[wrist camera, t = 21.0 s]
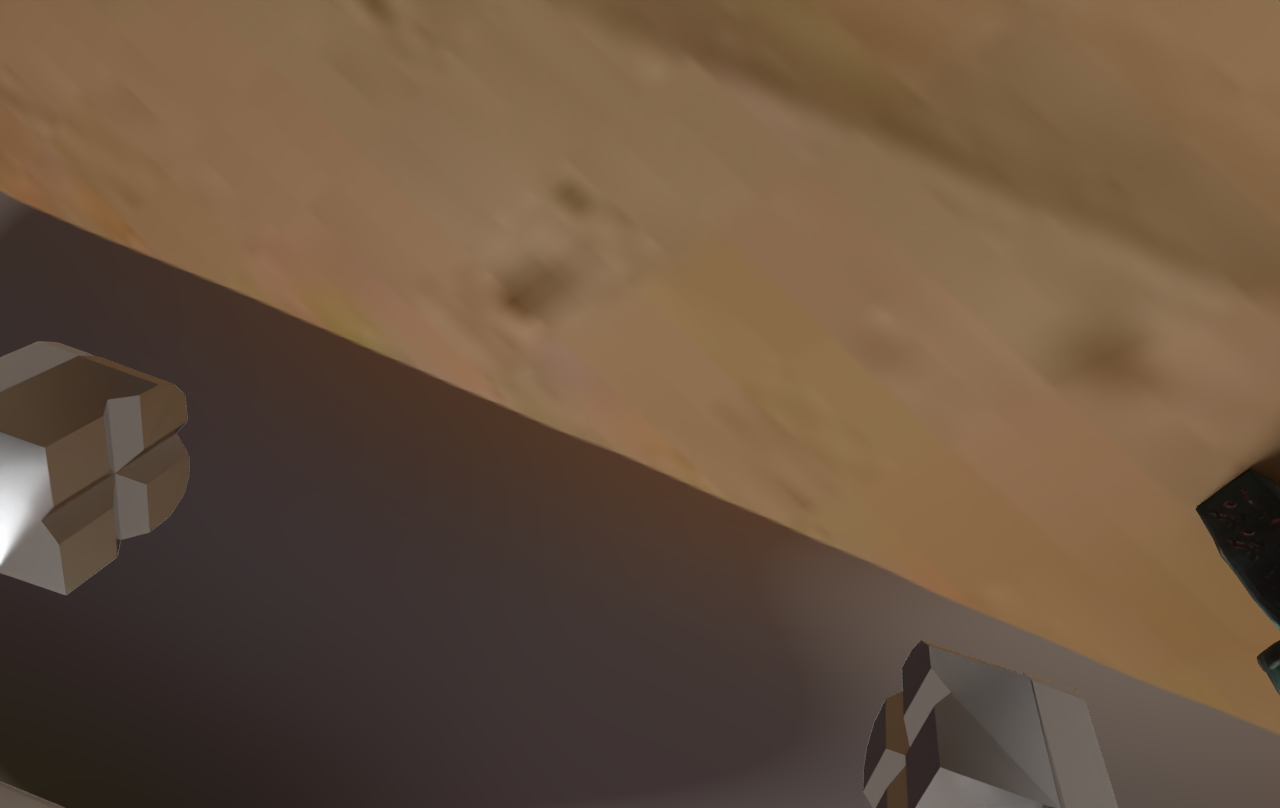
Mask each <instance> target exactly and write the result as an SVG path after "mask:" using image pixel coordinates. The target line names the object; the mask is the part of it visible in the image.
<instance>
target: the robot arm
mask: <svg viewBox="0 0 1280 808" xmlns="http://www.w3.org/2000/svg"><path fill="white" fill-rule="evenodd" d="M187 421H188V419H187V408H186V398H185V394H184V393H183V392H182V391H181V390H179V389H178V388H177V387H176V386H175V385H174V384H172V383H169V382H166V381H163V380H160V379H158V378H155V377H153V376H150V375H147V374H144V373H142V372H139V371H136V370H133V369H131V368H128V367H125V366H123V365H120V364H117V363H114V362H112V361H109V360H106V359H103V358H101V357H98V356H92V355H90V354H88V353H86V352H83V351H80V350H77V349H75V348H72V347H69V346H66V345H63V344H60V343H58V342H42V341H38V342H36V343H33V344H31V345H28V346H26V347H24V348H21V349H19V350H17V351H14V352H12V353H9V354H7V355H5V356H2V357H0V573H2V574H5V575H8V576H11V577H14V578H17V579H20V580H23V581H25V582H28V583H31V584H34V585H37V586H40V587H43V588H46V589H49V590H52V591H55V592H58V593H60V594H63V595H67V594H69V593H70V592H71V591H73V590H74V589H75V588H76V587H78V586H79V585H81V584H82V583H83V582H85V581H86V580H87V579H89V578H90V577H91V576H93V575H94V574H95V573H96V572H98V571H99V570H101V568H103V567H105V566H106V565H107V564H109V563H110V562H111V561H112V560H114V559H115V558H116V557H118V552H119V546H120V542H121V540H122V539H126V538H130V537H133V536H137V535H141V534H145V533H149V532H151V531H152V530H153V529H154V528H156V527H157V526H158V525H159V524H161V523H162V522H163V521H164V520H166V519H167V518H168V517H169V516H170V515H171V513H172V512H173V510H174V509H175V507H176V506H177V504H178V503H179V501H180V500H181V498H182V497H183V495H184V494H185V490H186V486H187V482H188V478H189V474H190V471H189V470H190V469H189V454H188V452H187V451H186V449H185V447H184V446H183V444H182V442H181V441H180V439H179V438H178V436H177V434H176V433H177V432H178V431H179V430H180V429H181V427H182V426H183V425H184V424H185V423H186V422H187ZM902 686H903V691H902V692H900V693H898V694H896V695H893V696H891V697H889V698H886V699H885V701H884V703H883V705H882V707H881V710H880V711H879V714H878V716H877V718H876V720H875V722H874V725H873V728H872V732H871V735H870V738H869V742H868V745H867V749H866V756H865V763H864V775H863V792H864V794H865V796H866V797H867V799H868V800H869V802H870V804H871V805H872V807H873V808H1118V805H1117V802H1116V799H1115V796H1114V792H1113V789H1112V786H1111V783H1110V780H1109V776H1108V773H1107V770H1106V767H1105V763H1104V760H1103V757H1102V754H1101V750H1100V747H1099V744H1098V741H1097V738H1096V734H1095V731H1094V728H1093V725H1092V721H1091V718H1090V715H1089V712H1088V708H1087V705H1086V702H1085V699H1084V698H1083V696H1082V695H1081V694H1080V693H1079V692H1078V691H1077V690H1076V689H1073V688H1071V687H1067V686H1064V685H1061V684H1058V683H1055V682H1052V681H1048V680H1045V679H1042V678H1039V677H1036V676H1032V675H1029V674H1026V673H1022V674H1020V673H1017V672H1015V671H1012V670H1009V669H1006V668H1002V667H1000V666H997V665H994V664H991V663H987V662H985V661H982V660H979V659H976V658H973V657H970V656H967V655H964V654H961V653H958V652H955V651H952V650H949V649H946V648H943V647H940V646H937V645H934V644H931V643H928V642H925V641H922V640H920V641H919V643H918V644H917V645H916V646H915V647H914V648H913V649H912V650H911V652H910V654H909V656H908V658H907V660H906V661H905V663H904V665H903V667H902ZM0 808H64V807H62V806H59V805H57V804H54V803H52V802H50V801H47V800H45V799H42V798H40V797H37V796H35V795H32V794H30V793H27V792H25V791H23V790H20V789H18V788H15V787H13V786H10V785H8V784H5V783H3V782H0Z"/></svg>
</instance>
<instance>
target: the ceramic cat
mask: <svg viewBox="0 0 1280 808" xmlns="http://www.w3.org/2000/svg"><path fill="white" fill-rule="evenodd" d="M1196 511H1197V512H1198V514H1199V515H1200V517H1201V519H1202V521H1203V522H1204V524H1205V526H1206V528H1207V529H1208V531H1209V533H1210V535H1211V536H1212V538H1213V540H1214V542H1215V544H1216V546H1217V549H1218V551H1219V553H1220V555H1221V557H1222V559H1223V560H1224V561H1225V562H1226V563H1227V564H1228V565H1229V567H1230V568H1231V569H1232V571H1233V572H1234V573H1235V575H1236V576H1237V577H1238V578H1239V580H1240V581H1241V582H1242V584H1243V585H1244V587H1245V588H1246V590H1247V591H1248V592H1249V594H1250V595H1251V597H1252V598H1253V600H1254V601H1255V602H1256V603H1257V604H1258V606H1259V607H1260V608H1261V609H1262V610H1263V611H1264V612H1265V614H1266V615H1267V616H1268V617H1269V618H1270V619H1271V620H1272V622H1273V623H1274V624H1275V625H1276V626H1277V627H1278V628H1279V630H1280V487H1279V486H1278V485H1277V484H1276V483H1275V482H1273V481H1272V480H1270V479H1268V478H1267V477H1265V476H1263V475H1261V474H1259V473H1257V472H1256V471H1254V470H1252V469H1250V470H1249V471H1247V472H1246V473H1244V474H1243V475H1241V476H1240V477H1238V478H1237V479H1235V480H1234V481H1232V482H1231V483H1230V484H1229V485H1227V486H1226V487H1225V488H1223V489H1222V490H1221V491H1219V492H1218V493H1217V494H1215V495H1214V496H1213V497H1212V498H1210V499H1209V500H1208V501H1206V502H1205V503H1203V504H1202V505H1201V506H1199V507H1198V508H1196ZM1257 661H1258V664H1259V665H1260V667H1261V668H1262V670H1263V671H1264V672H1265V673H1266V674H1267V675H1268V677H1269V678H1270V680H1271V682H1272V683H1273V685H1274V687H1275V689H1276V690H1277V692H1278V693H1279V695H1280V640H1279V641H1278V642H1276V643H1274V644H1273V645H1271V646H1270V647H1269V648H1267V649H1266V650H1264V651H1263V652H1262V653H1260V654H1259V656H1258V657H1257Z"/></svg>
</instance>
